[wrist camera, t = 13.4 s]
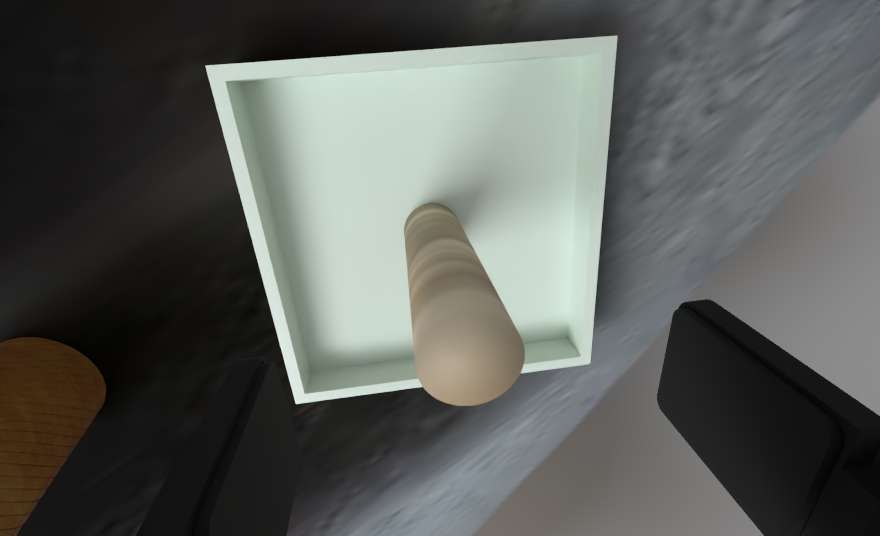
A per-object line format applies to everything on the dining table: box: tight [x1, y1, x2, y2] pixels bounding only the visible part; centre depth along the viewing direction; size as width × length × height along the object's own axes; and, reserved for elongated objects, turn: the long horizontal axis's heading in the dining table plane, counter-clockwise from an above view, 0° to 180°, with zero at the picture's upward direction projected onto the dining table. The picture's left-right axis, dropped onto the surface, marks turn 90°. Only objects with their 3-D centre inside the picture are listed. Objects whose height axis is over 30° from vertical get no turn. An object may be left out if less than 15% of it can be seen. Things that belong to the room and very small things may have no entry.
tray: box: [206, 36, 618, 404], centre depth 22 cm, size 17×17×3 cm
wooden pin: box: [404, 203, 525, 406], centre depth 17 cm, size 3×3×12 cm
